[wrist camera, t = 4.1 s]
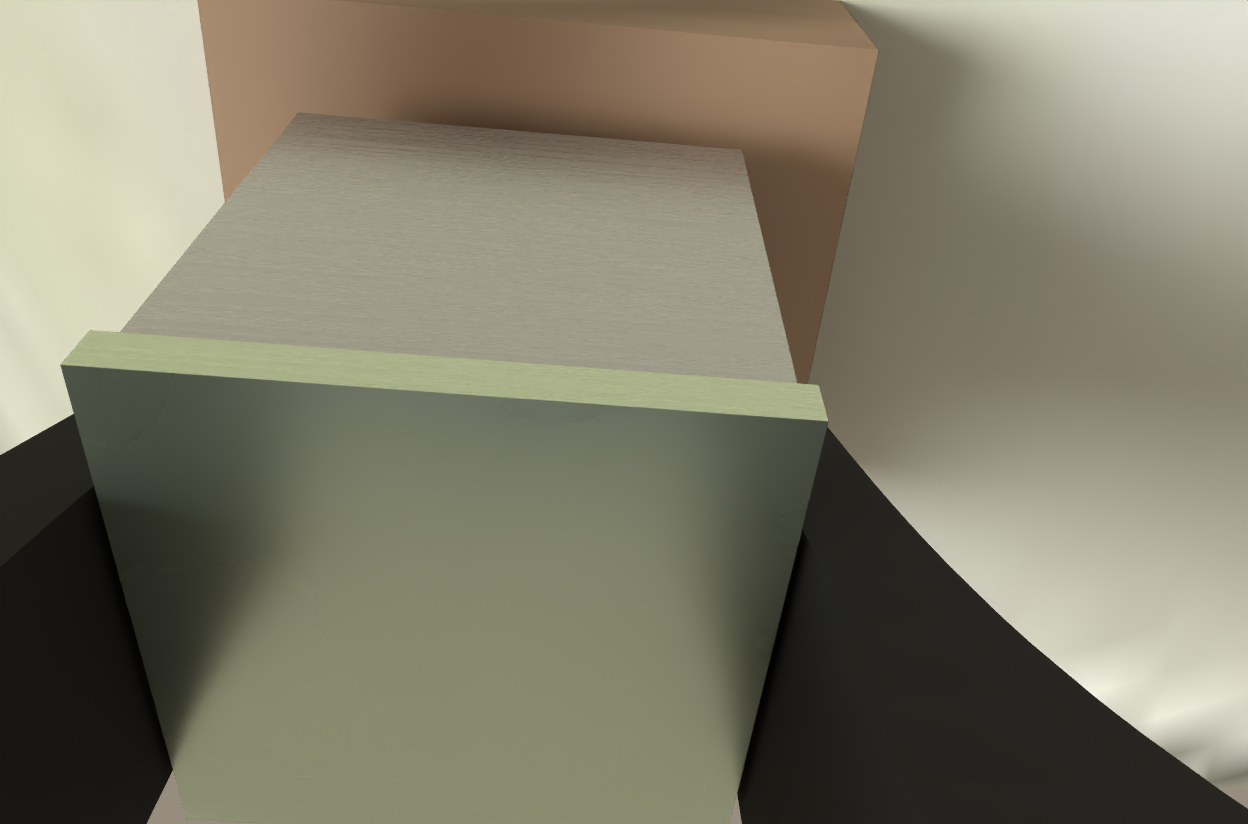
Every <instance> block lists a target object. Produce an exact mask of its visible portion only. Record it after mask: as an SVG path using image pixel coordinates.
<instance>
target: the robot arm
mask: <svg viewBox="0 0 1248 824" xmlns="http://www.w3.org/2000/svg"><path fill="white" fill-rule="evenodd" d="M172 771H173V768H172V765H171V761H170V758H169V754H168V750H167V747H166V743H165V740H164V736H163V732H162V729H161V725H160V722H159V718H158V714H157V711H156V707H155V704H154V700H153V696H152V693H151V689H150V686H149V682H148V678H147V675H146V671H145V668H144V664H143V660H142V657H141V653H140V650H139V646H138V642H137V639H136V635H135V631H134V628H133V624H132V621H131V617H130V613H129V610H128V606H127V603H126V599H125V595H124V592H123V588H122V585H121V581H120V577H119V574H118V570H117V567H116V563H115V559H114V556H113V552H112V549H111V545H110V541H109V538H108V534H107V531H106V527H105V523H104V520H103V516H102V513H101V509H100V505H99V502H98V498H97V495H96V491H95V487H94V484H93V480H92V477H91V473H90V469H89V466H88V462H87V459H86V455H85V451H84V448H83V444H82V441H81V437H80V433H79V430H78V426H77V423H76V419H75V415H74V414H73V415H71V416H69V417H67V418H65V419H64V420H62V421H60V422H58V423H57V424H55V425H53V426H51V427H50V428H48V429H46V430H44V431H42V432H41V433H39V434H37V435H35V436H34V437H32V438H30V439H28V440H27V441H25V442H23V443H21V444H19V445H18V446H16V447H14V448H12V449H11V450H9V451H7V452H5V453H4V454H2V455H0V824H147V822H148V819H149V818H150V815H151V813H152V811H153V809H154V807H155V805H156V803H157V801H158V799H159V797H160V795H161V793H162V791H163V789H164V787H165V785H166V783H167V781H168V779H169V777H170V775H171V772H172ZM737 794H738V801H739V807H740V814H741V821H742V824H1248V809H1247V808H1246V807H1244V806H1243V805H1241V804H1240V803H1238V802H1237V801H1235V800H1234V799H1232V798H1231V797H1229V796H1228V795H1227V794H1225V793H1224V792H1222V791H1221V790H1219V789H1218V788H1217V787H1215V786H1214V785H1212V784H1211V783H1210V782H1208V781H1207V780H1206V779H1204V778H1203V777H1201V776H1200V775H1199V774H1197V773H1196V772H1194V771H1193V770H1192V769H1190V768H1189V767H1188V766H1186V765H1185V764H1183V763H1182V762H1181V761H1179V760H1178V759H1176V758H1175V757H1174V756H1172V755H1171V754H1170V753H1168V752H1167V751H1165V750H1164V749H1163V748H1161V747H1160V746H1159V745H1157V744H1156V743H1154V742H1153V741H1152V740H1150V739H1149V738H1147V737H1146V736H1145V735H1143V734H1142V733H1141V732H1139V731H1138V730H1137V729H1135V728H1134V727H1133V726H1131V725H1130V724H1129V723H1128V722H1126V721H1125V720H1124V719H1122V718H1121V717H1120V716H1119V715H1117V714H1116V713H1115V712H1113V711H1112V710H1111V709H1109V708H1108V707H1107V706H1106V705H1104V704H1103V703H1102V702H1101V701H1099V700H1098V699H1097V698H1095V697H1094V696H1093V695H1092V694H1091V693H1089V692H1088V691H1087V690H1086V689H1085V688H1084V687H1082V686H1081V685H1080V684H1079V683H1078V682H1076V681H1075V680H1074V679H1073V678H1072V677H1070V676H1069V675H1068V674H1067V673H1066V672H1064V671H1063V670H1062V669H1061V668H1060V667H1059V666H1057V665H1056V664H1055V663H1054V662H1053V661H1051V660H1050V659H1049V658H1048V657H1047V656H1045V655H1044V654H1043V653H1042V652H1041V651H1039V650H1038V649H1037V648H1036V647H1035V646H1034V645H1032V644H1031V643H1030V642H1029V641H1028V640H1027V639H1026V638H1024V637H1023V636H1022V635H1021V634H1020V633H1019V632H1018V631H1017V630H1016V629H1014V628H1013V627H1012V626H1011V625H1010V624H1009V623H1008V622H1007V621H1006V620H1004V619H1003V618H1002V617H1001V616H1000V615H999V614H998V613H997V612H996V611H995V610H994V609H993V608H992V607H991V606H990V605H989V604H988V603H987V602H986V601H985V600H984V599H983V598H982V597H981V596H980V595H979V594H978V593H977V592H976V591H974V590H973V589H972V588H971V587H970V586H969V585H968V584H967V583H966V582H965V581H964V580H963V579H962V578H961V577H960V576H959V575H958V574H957V573H956V572H955V571H954V570H953V569H952V568H951V567H950V566H949V565H948V564H947V563H946V562H945V561H944V560H943V559H942V558H941V557H940V556H939V555H938V553H937V552H936V551H935V550H934V549H933V548H932V547H931V546H930V545H929V544H928V543H927V542H926V541H925V540H924V539H923V538H922V537H921V536H920V534H919V533H918V532H917V531H916V530H915V529H914V528H913V527H912V526H911V525H910V524H909V522H908V521H907V520H906V519H905V518H904V517H903V516H902V515H901V514H900V512H899V511H898V510H897V509H896V508H895V507H894V506H893V505H892V503H891V502H890V501H889V500H888V499H887V498H886V497H885V495H884V494H883V493H882V492H881V491H880V490H879V488H878V487H877V486H876V485H875V484H874V483H873V482H872V480H871V479H870V478H869V477H868V476H867V474H866V473H865V472H864V471H863V470H862V468H861V467H860V466H859V465H858V464H857V462H856V461H855V460H854V459H853V458H852V456H851V455H850V454H849V453H848V452H847V450H846V449H845V448H844V447H843V445H842V444H841V443H840V442H839V441H838V439H837V438H836V437H835V436H834V434H833V433H832V432H831V431H830V430H829V428H828V427H827V429H826V434H825V438H824V442H823V446H822V450H821V454H820V458H819V462H818V466H817V470H816V474H815V478H814V482H813V486H812V490H811V495H810V499H809V503H808V507H807V511H806V515H805V519H804V523H803V527H802V531H801V535H800V539H799V543H798V547H797V552H796V556H795V560H794V564H793V568H792V572H791V576H790V580H789V584H788V588H787V592H786V596H785V600H784V604H783V609H782V613H781V617H780V621H779V625H778V629H777V633H776V637H775V641H774V645H773V649H772V653H771V657H770V661H769V665H768V670H767V674H766V678H765V682H764V686H763V690H762V694H761V698H760V702H759V706H758V710H757V714H756V718H755V722H754V727H753V731H752V735H751V739H750V743H749V747H748V751H747V755H746V759H745V763H744V767H743V771H742V775H741V779H740V784H739V788H738V792H737Z"/></svg>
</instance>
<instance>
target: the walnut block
mask: <svg viewBox="0 0 1248 824" xmlns="http://www.w3.org/2000/svg"><path fill="white" fill-rule="evenodd" d="M198 8H199V15H200V22H201V30H202V37H203V44H204V52H205V59H206V66H207V74H208V81H209V88H210V96H211V103H212V110H213V118H214V125H215V132H216V140H217V147H218V154H219V162H220V169H221V176H222V184H223V191H224V198H225V202H226V201H227V200H228V198H229V197H230V196H231V195H232V193H233V192H234V191H235V190H236V189H237V187H238V186H239V185H240V184H241V182H242V181H243V180H244V179H245V177H246V176H247V175H248V174H249V172H250V171H251V170H252V169H253V168H254V166H255V165H256V164H257V163H258V161H259V160H260V159H261V158H262V156H263V155H264V154H265V153H266V151H267V150H268V149H269V148H270V147H271V145H272V144H273V143H274V142H275V140H276V139H277V138H278V137H279V135H280V134H281V133H282V132H283V131H284V129H285V128H286V127H287V126H288V124H289V123H290V122H291V121H292V119H293V118H294V117H295V116H296V114H297V113H298V112H301V113H313V114H325V115H336V116H348V117H360V118H372V119H384V120H396V121H407V122H419V123H431V124H443V125H455V126H466V127H478V128H490V129H502V130H514V131H526V132H537V133H549V134H561V135H573V136H585V137H596V138H608V139H620V140H632V141H644V142H656V143H667V144H679V145H691V146H703V147H715V148H727V149H738V150H742V153H743V157H744V162H745V166H746V170H747V174H748V178H749V183H750V187H751V191H752V195H753V199H754V204H755V208H756V212H757V216H758V220H759V225H760V229H761V233H762V237H763V241H764V245H765V250H766V254H767V258H768V262H769V266H770V271H771V275H772V279H773V283H774V287H775V292H776V296H777V300H778V304H779V308H780V313H781V317H782V321H783V325H784V329H785V334H786V338H787V342H788V346H789V350H790V355H791V359H792V363H793V367H794V371H795V376H796V380H797V383H799V384H807V383H808V379H809V374H810V369H811V365H812V360H813V355H814V350H815V346H816V341H817V336H818V332H819V327H820V322H821V318H822V313H823V308H824V304H825V299H826V294H827V290H828V285H829V280H830V276H831V271H832V266H833V262H834V257H835V252H836V248H837V243H838V238H839V234H840V229H841V224H842V220H843V215H844V210H845V206H846V201H847V196H848V192H849V187H850V182H851V178H852V173H853V168H854V163H855V159H856V154H857V149H858V145H859V140H860V135H861V131H862V126H863V121H864V117H865V112H866V107H867V103H868V98H869V93H870V89H871V84H872V79H873V75H874V70H875V65H876V61H877V56H878V51H879V50H878V49H877V47H876V46H875V45H874V44H873V42H872V41H871V40H870V38H869V37H868V36H867V35H866V33H865V32H864V31H863V30H862V28H861V27H860V26H859V25H858V23H857V22H856V21H855V19H854V18H853V17H852V16H851V14H850V13H849V12H848V11H847V9H846V8H845V7H844V6H843V4H842V3H841V2H840V1H837V0H198Z"/></svg>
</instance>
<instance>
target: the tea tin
mask: <svg viewBox="0 0 1248 824" xmlns="http://www.w3.org/2000/svg"><path fill="white" fill-rule="evenodd" d="M61 369H62V372H63V376H64V379H65V383H66V387H67V390H68V394H69V397H70V401H71V405H72V408H73V412H74V415H75V419H76V423H77V426H78V430H79V433H80V437H81V441H82V444H83V448H84V451H85V455H86V459H87V462H88V466H89V469H90V473H91V477H92V480H93V484H94V487H95V491H96V495H97V498H98V502H99V505H100V509H101V513H102V516H103V520H104V523H105V527H106V531H107V534H108V538H109V541H110V545H111V549H112V552H113V556H114V559H115V563H116V567H117V570H118V574H119V577H120V581H121V585H122V588H123V592H124V595H125V599H126V603H127V606H128V610H129V613H130V617H131V621H132V624H133V628H134V631H135V635H136V639H137V642H138V646H139V650H140V653H141V657H142V660H143V664H144V668H145V671H146V675H147V678H148V682H149V686H150V689H151V693H152V696H153V700H154V704H155V707H156V711H157V714H158V718H159V722H160V725H161V729H162V732H163V736H164V740H165V743H166V747H167V750H168V754H169V758H170V761H171V765H172V768H173V772H174V776H175V779H176V783H177V786H178V790H179V793H180V797H181V801H182V804H183V808H184V812H185V815H186V819H187V820H202V821H218V822H219V821H220V822H236V823H237V822H238V823H254V824H730V820H731V816H732V812H733V808H734V804H735V800H736V795H737V792H738V788H739V784H740V779H741V775H742V771H743V767H744V763H745V759H746V755H747V751H748V747H749V743H750V739H751V735H752V731H753V727H754V722H755V718H756V714H757V710H758V706H759V702H760V698H761V694H762V690H763V686H764V682H765V678H766V674H767V670H768V665H769V661H770V657H771V653H772V649H773V645H774V641H775V637H776V633H777V629H778V625H779V621H780V617H781V613H782V609H783V604H784V600H785V596H786V592H787V588H788V584H789V580H790V576H791V572H792V568H793V564H794V560H795V556H796V552H797V547H798V543H799V539H800V535H801V531H802V527H803V523H804V519H805V515H806V511H807V507H808V503H809V499H810V495H811V490H812V486H813V482H814V478H815V474H816V470H817V466H818V462H819V458H820V454H821V450H822V446H823V442H824V438H825V434H826V429H827V425H828V417H827V414H826V410H825V406H824V403H823V399H822V395H821V391H820V388H819V385H812V384H799V383H797V380H796V376H795V371H794V367H793V363H792V359H791V355H790V350H789V346H788V342H787V338H786V334H785V329H784V325H783V321H782V317H781V313H780V308H779V304H778V300H777V296H776V292H775V287H774V283H773V279H772V275H771V271H770V266H769V262H768V258H767V254H766V250H765V245H764V241H763V237H762V233H761V229H760V225H759V220H758V216H757V212H756V208H755V204H754V199H753V195H752V191H751V187H750V183H749V178H748V174H747V170H746V166H745V162H744V157H743V153H742V150H738V149H727V148H715V147H703V146H691V145H679V144H667V143H656V142H644V141H632V140H620V139H608V138H596V137H585V136H573V135H561V134H549V133H537V132H526V131H514V130H502V129H490V128H478V127H466V126H455V125H443V124H431V123H419V122H407V121H396V120H384V119H372V118H360V117H348V116H336V115H325V114H313V113H301V112H298V113H297V114H296V116H295V117H294V118H293V119H292V121H291V122H290V123H289V124H288V126H287V127H286V128H285V129H284V131H283V132H282V133H281V134H280V135H279V137H278V138H277V139H276V140H275V142H274V143H273V144H272V145H271V147H270V148H269V149H268V150H267V151H266V153H265V154H264V155H263V156H262V158H261V159H260V160H259V161H258V163H257V164H256V165H255V166H254V168H253V169H252V170H251V171H250V172H249V174H248V175H247V176H246V177H245V179H244V180H243V181H242V182H241V184H240V185H239V186H238V187H237V189H236V190H235V191H234V192H233V193H232V195H231V196H230V197H229V198H228V200H227V201H226V202H225V203H224V205H223V206H222V207H221V208H220V209H219V211H218V212H217V213H216V214H215V216H214V217H213V218H212V219H211V221H210V222H209V223H208V224H207V226H206V227H205V228H204V229H203V230H202V232H201V233H200V234H199V235H198V237H197V238H196V239H195V240H194V242H193V243H192V244H191V245H190V247H189V248H188V249H187V250H186V251H185V253H184V254H183V255H182V256H181V258H180V259H179V260H178V261H177V263H176V264H175V265H174V266H173V267H172V269H171V270H170V271H169V272H168V274H167V275H166V276H165V277H164V279H163V280H162V281H161V282H160V284H159V285H158V286H157V287H156V288H155V290H154V291H153V292H152V293H151V295H150V296H149V297H148V298H147V300H146V301H145V302H144V303H143V305H142V306H141V307H140V308H139V309H138V311H137V312H136V313H135V314H134V316H133V317H132V318H131V319H130V321H129V322H128V323H127V324H126V325H125V327H124V328H123V329H122V330H121V332H107V331H93V330H90V331H89V332H88V333H87V334H86V335H85V337H84V338H83V339H82V340H81V341H80V342H79V344H78V345H77V346H76V347H75V348H74V349H73V351H72V352H71V353H70V354H69V355H68V356H67V358H66V359H65V360H64V361H63V362H62V363H61Z"/></svg>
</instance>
